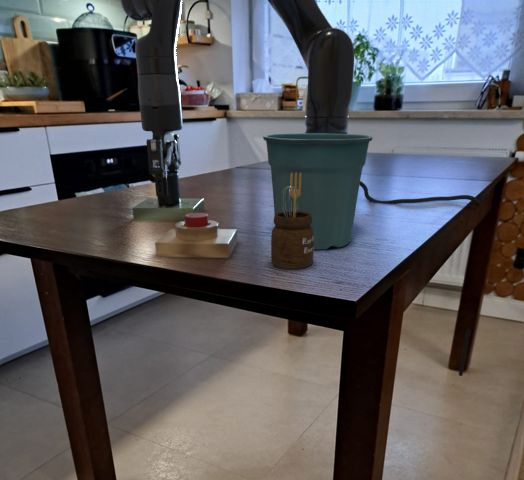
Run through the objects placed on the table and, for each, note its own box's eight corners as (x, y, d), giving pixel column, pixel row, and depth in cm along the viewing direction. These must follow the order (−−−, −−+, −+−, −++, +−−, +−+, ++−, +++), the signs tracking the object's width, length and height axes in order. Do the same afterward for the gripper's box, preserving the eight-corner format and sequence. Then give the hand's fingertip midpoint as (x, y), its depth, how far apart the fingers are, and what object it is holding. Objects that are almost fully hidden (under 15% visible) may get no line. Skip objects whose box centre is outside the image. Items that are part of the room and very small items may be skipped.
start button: (210, 224, 81) (210, 212, 80) (206, 229, 78) (205, 217, 77) (188, 223, 81) (187, 212, 80) (182, 229, 78) (181, 217, 77)
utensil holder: (268, 269, 71) (267, 179, 66) (274, 257, 77) (274, 172, 71) (311, 271, 70) (314, 179, 65) (314, 258, 76) (317, 172, 70)
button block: (237, 242, 85) (236, 217, 83) (228, 258, 76) (227, 231, 75) (171, 241, 86) (169, 217, 84) (156, 257, 77) (153, 230, 76)
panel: (204, 210, 108) (203, 197, 107) (194, 221, 99) (193, 207, 98) (148, 210, 109) (147, 197, 108) (133, 220, 100) (131, 206, 99)
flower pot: (315, 225, 95) (318, 130, 88) (385, 242, 84) (396, 134, 76) (243, 240, 86) (241, 135, 79) (311, 261, 74) (315, 141, 67)
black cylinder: (160, 200, 105) (158, 170, 103) (182, 200, 105) (179, 170, 102) (155, 204, 101) (152, 173, 99) (177, 204, 101) (175, 173, 98)
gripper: (151, 102, 102) (159, 187, 109) (127, 103, 89) (138, 199, 96) (188, 101, 101) (194, 187, 108) (170, 103, 88) (178, 200, 96)
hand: (168, 193), depth 102 cm, fingers open, 8 cm apart
